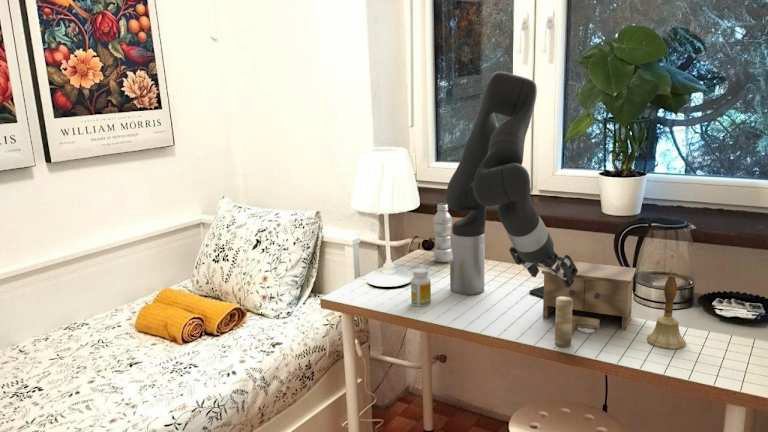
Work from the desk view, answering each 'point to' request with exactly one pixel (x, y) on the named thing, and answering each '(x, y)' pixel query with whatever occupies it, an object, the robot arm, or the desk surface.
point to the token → (586, 328)
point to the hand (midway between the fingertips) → (552, 278)
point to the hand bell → (667, 322)
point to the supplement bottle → (420, 288)
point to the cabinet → (593, 290)
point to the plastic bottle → (442, 234)
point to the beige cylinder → (568, 322)
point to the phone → (538, 292)
